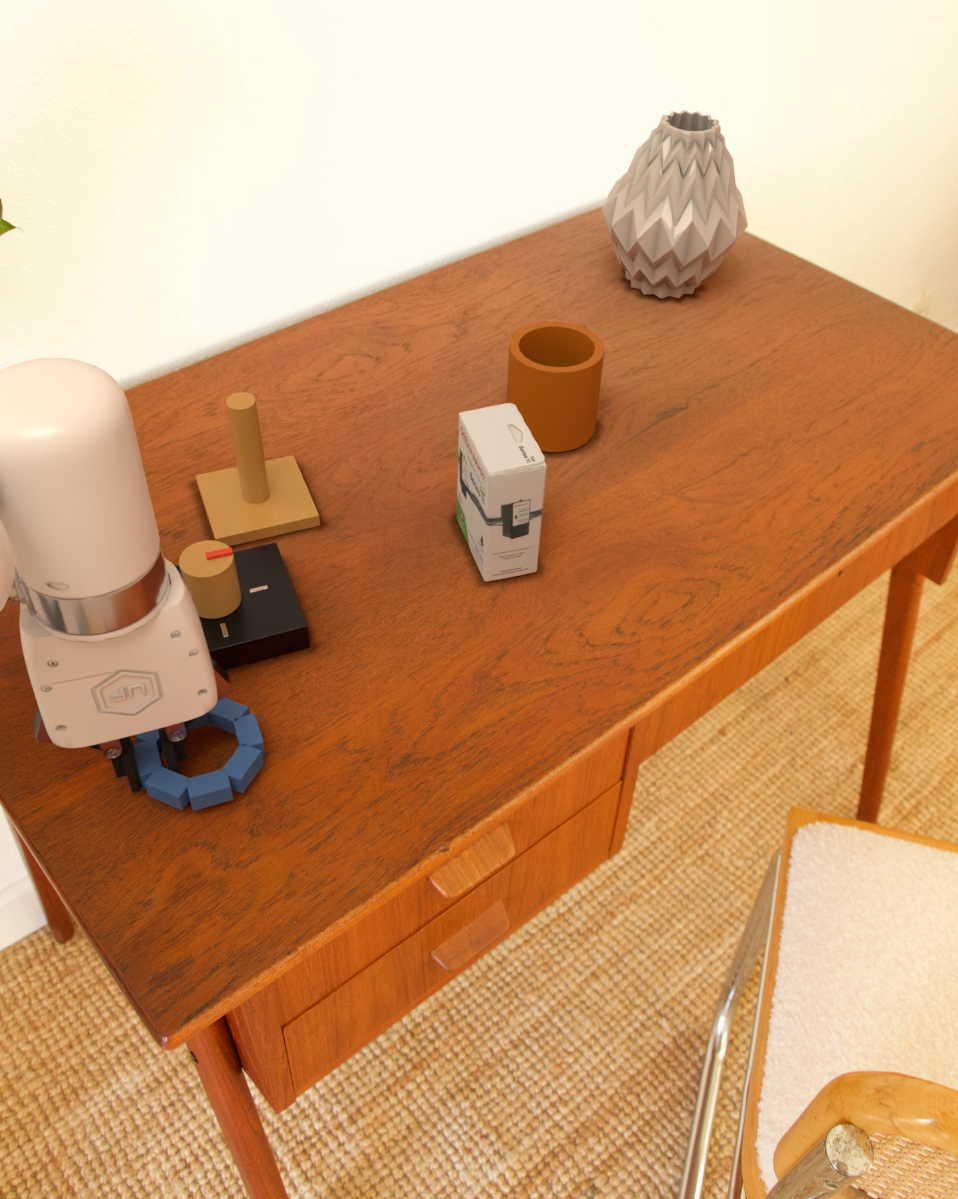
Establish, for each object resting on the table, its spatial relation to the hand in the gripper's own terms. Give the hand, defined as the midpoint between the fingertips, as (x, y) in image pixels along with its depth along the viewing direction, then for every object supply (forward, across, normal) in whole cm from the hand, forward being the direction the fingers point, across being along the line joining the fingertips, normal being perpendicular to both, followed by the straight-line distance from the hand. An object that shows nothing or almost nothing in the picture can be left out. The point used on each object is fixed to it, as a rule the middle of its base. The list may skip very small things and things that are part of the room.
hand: (153, 768), depth 70 cm
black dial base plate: (+1, +7, +13) cm, 15 cm away
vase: (0, +67, +50) cm, 84 cm away
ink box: (+1, +31, +14) cm, 34 cm away
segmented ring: (0, +3, 0) cm, 3 cm away
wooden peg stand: (+1, +13, +26) cm, 29 cm away
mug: (0, +44, +29) cm, 53 cm away
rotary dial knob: (-2, +7, +13) cm, 15 cm away
